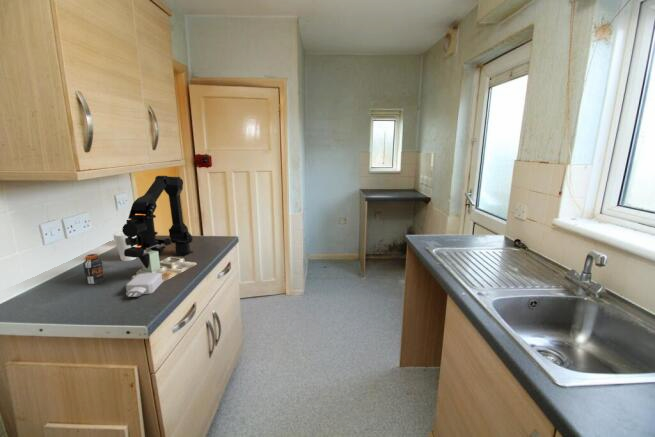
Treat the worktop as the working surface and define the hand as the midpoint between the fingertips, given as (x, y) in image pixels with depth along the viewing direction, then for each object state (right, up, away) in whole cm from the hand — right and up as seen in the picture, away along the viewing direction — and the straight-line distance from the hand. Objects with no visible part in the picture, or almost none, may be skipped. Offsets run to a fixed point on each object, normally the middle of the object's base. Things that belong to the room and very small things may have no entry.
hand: (151, 265), depth 130 cm
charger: (+5, -8, -14) cm, 17 cm away
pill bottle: (-20, -6, -5) cm, 21 cm away
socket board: (+3, -3, +5) cm, 7 cm away
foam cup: (-22, 0, +20) cm, 30 cm away
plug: (0, -2, 0) cm, 2 cm away
